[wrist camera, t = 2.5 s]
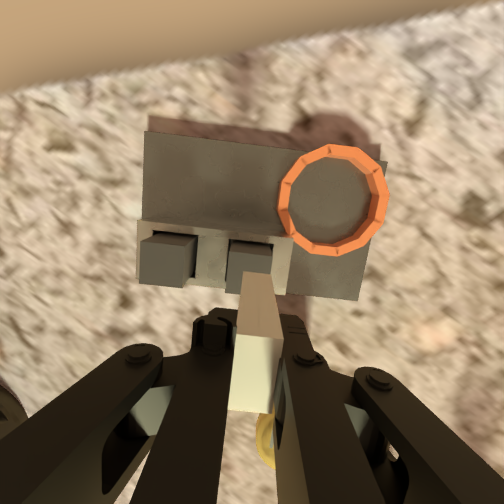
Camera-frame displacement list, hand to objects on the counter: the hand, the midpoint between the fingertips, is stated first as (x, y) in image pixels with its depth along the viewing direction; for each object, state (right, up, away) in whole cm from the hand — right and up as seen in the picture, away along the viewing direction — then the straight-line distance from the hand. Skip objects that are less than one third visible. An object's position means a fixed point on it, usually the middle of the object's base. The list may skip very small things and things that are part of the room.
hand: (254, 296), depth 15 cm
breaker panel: (0, +5, +11) cm, 13 cm away
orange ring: (+7, +7, +10) cm, 14 cm away
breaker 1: (-6, +3, +8) cm, 11 cm away
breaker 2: (0, +2, +8) cm, 9 cm away
